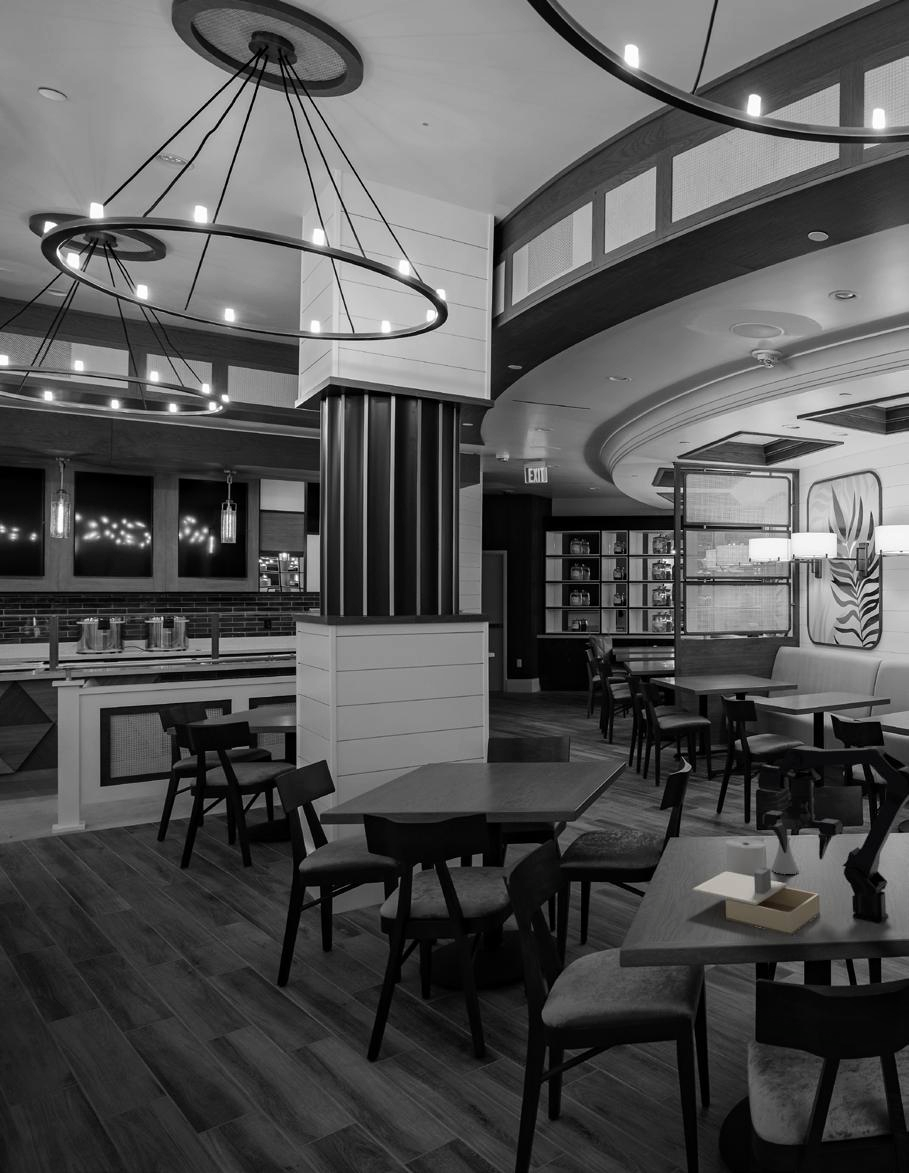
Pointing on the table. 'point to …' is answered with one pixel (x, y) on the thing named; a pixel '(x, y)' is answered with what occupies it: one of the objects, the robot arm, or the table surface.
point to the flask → (785, 861)
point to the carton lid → (742, 886)
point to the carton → (777, 911)
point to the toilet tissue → (746, 855)
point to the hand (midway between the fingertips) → (803, 855)
